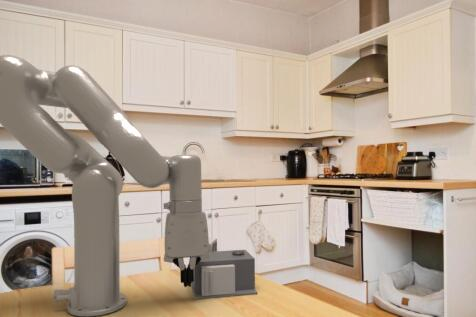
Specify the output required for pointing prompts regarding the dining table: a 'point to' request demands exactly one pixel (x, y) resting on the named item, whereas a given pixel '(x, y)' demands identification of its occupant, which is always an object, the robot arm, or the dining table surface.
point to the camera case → (242, 272)
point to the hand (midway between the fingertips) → (187, 285)
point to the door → (217, 280)
